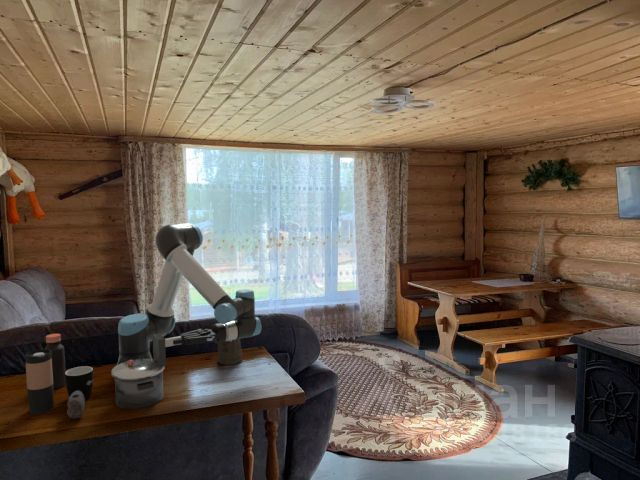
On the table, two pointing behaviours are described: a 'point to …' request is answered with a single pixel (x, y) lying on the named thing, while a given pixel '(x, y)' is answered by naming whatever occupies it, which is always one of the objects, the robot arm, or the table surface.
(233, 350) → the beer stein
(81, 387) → the mug
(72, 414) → the perforated stone tool
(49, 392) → the travel mug
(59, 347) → the bottle
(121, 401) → the cooker pot
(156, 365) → the lid
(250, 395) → the table surface
